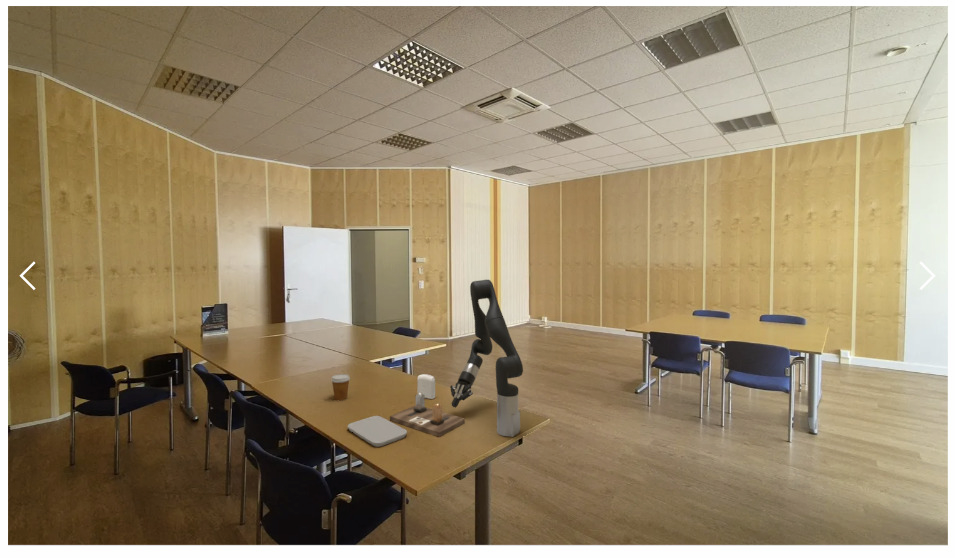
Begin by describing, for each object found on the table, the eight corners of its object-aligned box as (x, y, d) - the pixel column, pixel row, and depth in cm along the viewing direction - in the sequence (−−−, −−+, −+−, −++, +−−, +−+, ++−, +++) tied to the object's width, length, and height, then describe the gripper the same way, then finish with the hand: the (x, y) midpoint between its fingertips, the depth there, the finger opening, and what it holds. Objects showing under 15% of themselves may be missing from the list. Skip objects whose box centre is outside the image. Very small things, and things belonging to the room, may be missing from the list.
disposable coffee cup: (353, 395, 222) (352, 374, 221) (345, 401, 212) (345, 379, 211) (336, 395, 222) (335, 373, 222) (328, 401, 213) (327, 378, 212)
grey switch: (426, 409, 196) (426, 392, 195) (420, 412, 192) (420, 395, 192) (419, 407, 198) (419, 390, 198) (413, 410, 195) (413, 393, 194)
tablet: (377, 419, 191) (377, 414, 191) (410, 437, 172) (410, 432, 172) (345, 430, 179) (344, 425, 179) (376, 450, 161) (376, 444, 161)
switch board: (464, 422, 186) (464, 417, 186) (439, 437, 172) (439, 431, 171) (416, 408, 203) (416, 404, 203) (389, 420, 189) (389, 415, 189)
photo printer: (416, 396, 220) (416, 374, 219) (420, 394, 224) (420, 372, 223) (432, 400, 215) (432, 377, 215) (436, 397, 219) (436, 375, 219)
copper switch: (444, 421, 182) (444, 403, 181) (437, 425, 178) (437, 406, 178) (436, 419, 184) (436, 401, 184) (430, 422, 181) (430, 404, 180)
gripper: (454, 368, 201) (439, 399, 192) (476, 372, 194) (461, 405, 185) (461, 376, 206) (446, 407, 197) (482, 380, 199) (468, 413, 189)
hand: (453, 406), depth 191 cm, fingers closed
